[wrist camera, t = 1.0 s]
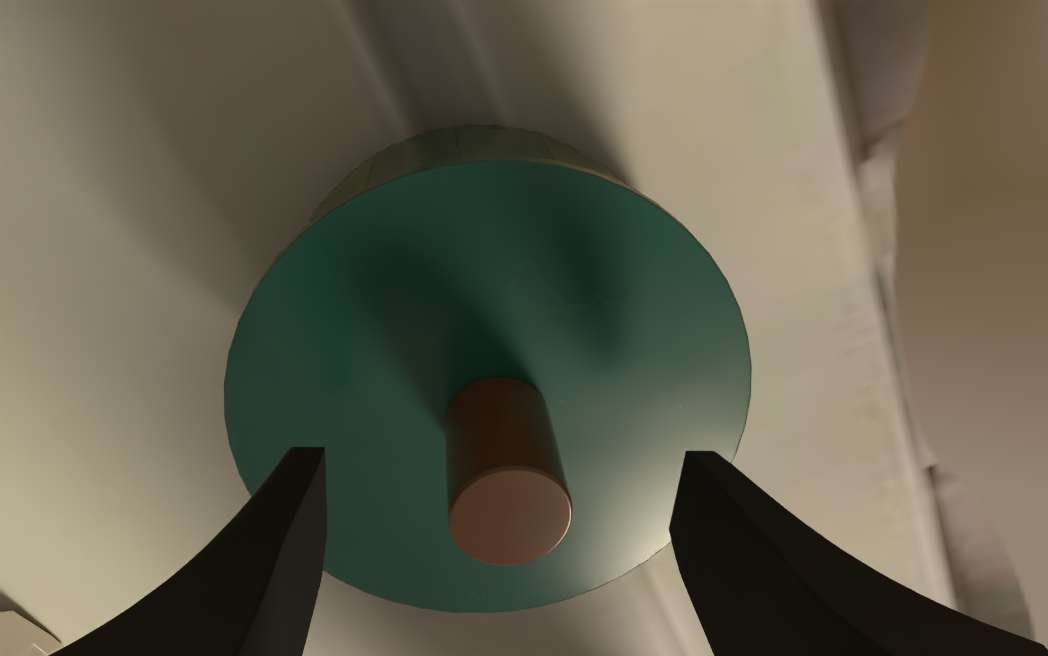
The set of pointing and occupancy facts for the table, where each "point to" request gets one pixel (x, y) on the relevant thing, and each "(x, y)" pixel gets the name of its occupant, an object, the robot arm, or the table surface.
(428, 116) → the table surface
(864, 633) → the robot arm
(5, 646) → the cat figurine
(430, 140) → the pot
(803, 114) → the table surface
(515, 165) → the lid
